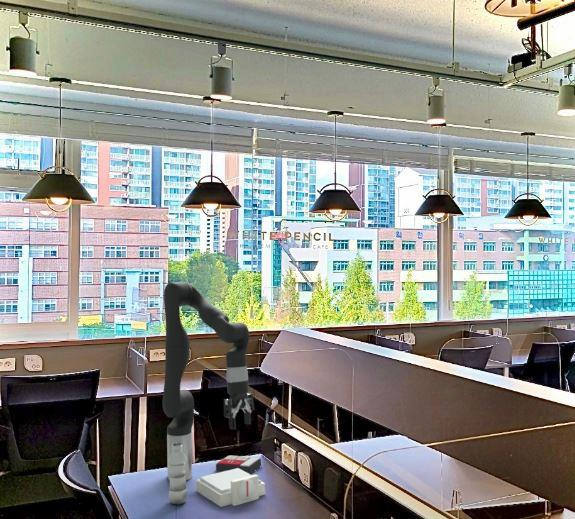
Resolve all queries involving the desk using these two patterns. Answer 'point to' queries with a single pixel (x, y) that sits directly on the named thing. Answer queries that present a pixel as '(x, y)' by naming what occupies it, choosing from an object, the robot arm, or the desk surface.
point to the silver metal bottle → (177, 475)
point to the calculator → (239, 464)
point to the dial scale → (230, 487)
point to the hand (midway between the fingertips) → (240, 426)
